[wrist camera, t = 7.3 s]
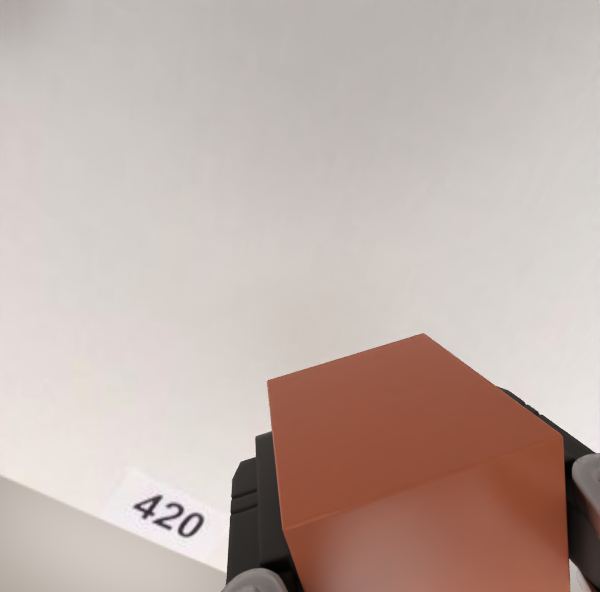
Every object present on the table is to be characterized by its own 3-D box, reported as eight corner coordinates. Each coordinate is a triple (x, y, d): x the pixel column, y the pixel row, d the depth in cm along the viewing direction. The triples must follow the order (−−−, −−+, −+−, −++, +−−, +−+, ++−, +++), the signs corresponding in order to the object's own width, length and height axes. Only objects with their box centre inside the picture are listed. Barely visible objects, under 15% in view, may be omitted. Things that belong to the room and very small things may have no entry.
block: (424, 332, 10) (565, 434, 5) (445, 461, 11) (573, 629, 7) (266, 379, 9) (281, 530, 5) (307, 508, 11) (347, 715, 6)
